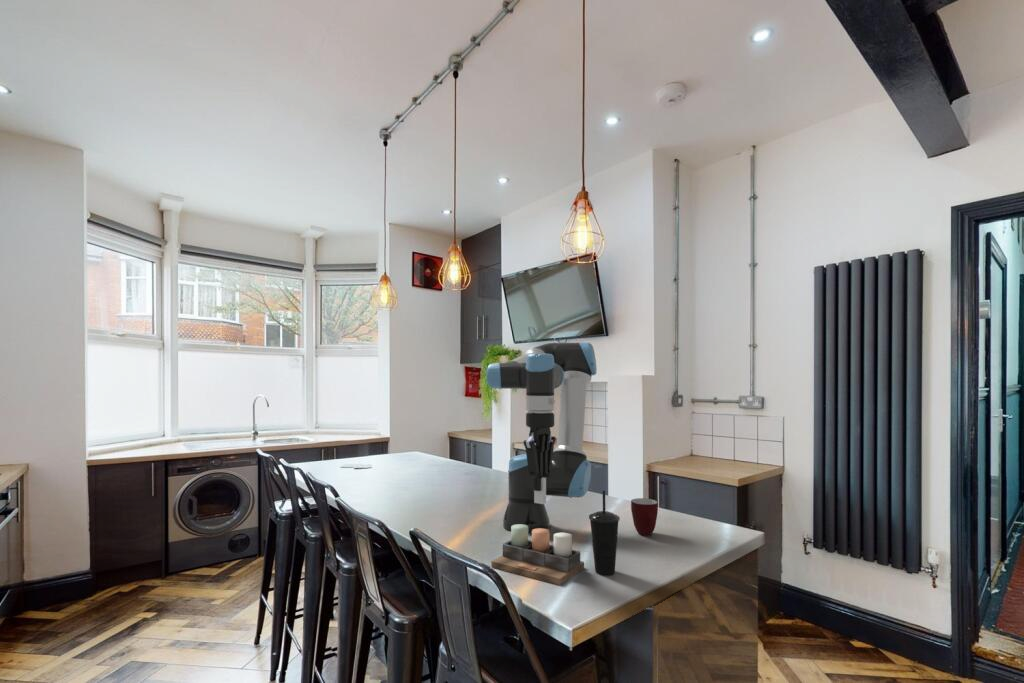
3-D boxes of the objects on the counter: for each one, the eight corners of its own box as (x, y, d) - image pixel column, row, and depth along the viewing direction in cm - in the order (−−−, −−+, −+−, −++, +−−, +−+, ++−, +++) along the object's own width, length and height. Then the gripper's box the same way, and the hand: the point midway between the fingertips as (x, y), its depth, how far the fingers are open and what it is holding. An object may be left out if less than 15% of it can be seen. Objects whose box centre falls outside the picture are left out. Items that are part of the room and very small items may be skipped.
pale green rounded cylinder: (507, 546, 134) (507, 527, 134) (517, 542, 137) (517, 523, 138) (522, 550, 131) (522, 530, 131) (531, 545, 135) (531, 526, 135)
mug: (668, 539, 152) (667, 505, 152) (644, 541, 149) (643, 507, 150) (649, 529, 162) (648, 497, 162) (626, 531, 159) (626, 499, 160)
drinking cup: (586, 566, 130) (585, 487, 131) (615, 565, 130) (614, 487, 132) (593, 578, 122) (592, 494, 124) (624, 577, 123) (623, 494, 124)
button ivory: (550, 556, 126) (550, 536, 127) (559, 551, 130) (559, 531, 131) (566, 560, 124) (566, 539, 124) (575, 554, 128) (574, 534, 128)
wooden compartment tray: (491, 567, 129) (491, 549, 130) (518, 552, 140) (519, 536, 140) (560, 585, 118) (559, 565, 119) (584, 567, 129) (584, 549, 129)
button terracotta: (528, 551, 130) (528, 531, 130) (537, 546, 134) (537, 527, 134) (543, 555, 127) (543, 534, 128) (552, 549, 131) (552, 530, 132)
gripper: (539, 413, 126) (539, 510, 124) (564, 411, 136) (564, 500, 134) (514, 412, 130) (514, 505, 128) (540, 410, 141) (540, 496, 139)
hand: (540, 502), depth 131 cm, fingers closed
